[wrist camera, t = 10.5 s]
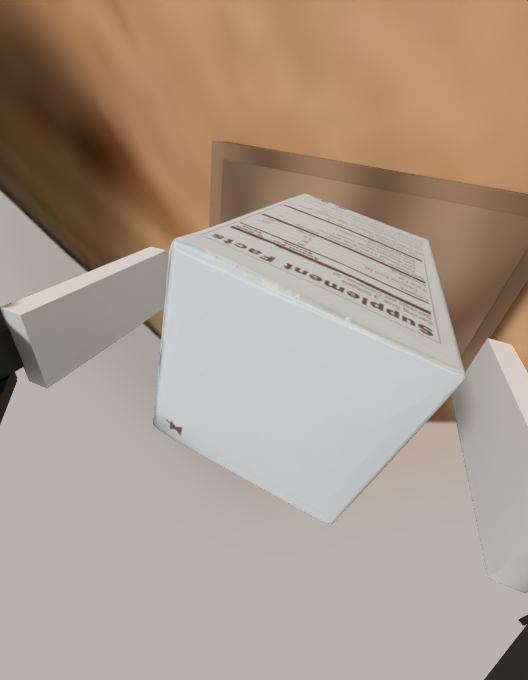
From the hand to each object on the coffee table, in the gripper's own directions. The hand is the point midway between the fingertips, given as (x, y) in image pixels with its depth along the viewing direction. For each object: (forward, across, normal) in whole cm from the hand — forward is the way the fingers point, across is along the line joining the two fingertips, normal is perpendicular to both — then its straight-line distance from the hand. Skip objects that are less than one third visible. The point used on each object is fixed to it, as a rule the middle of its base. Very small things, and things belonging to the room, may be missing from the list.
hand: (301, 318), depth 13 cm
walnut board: (+9, +1, 0) cm, 9 cm away
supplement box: (+7, 0, 0) cm, 7 cm away
